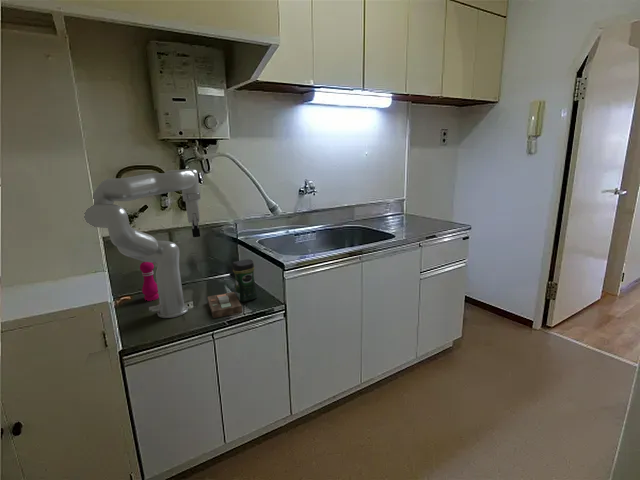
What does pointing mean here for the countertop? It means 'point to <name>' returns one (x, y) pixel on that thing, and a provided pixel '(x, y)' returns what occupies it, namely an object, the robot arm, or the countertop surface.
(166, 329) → the countertop surface
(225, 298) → the grey key
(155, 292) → the pepper mill
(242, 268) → the coffee jar
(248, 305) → the countertop surface
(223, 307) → the sage key
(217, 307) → the keypad
